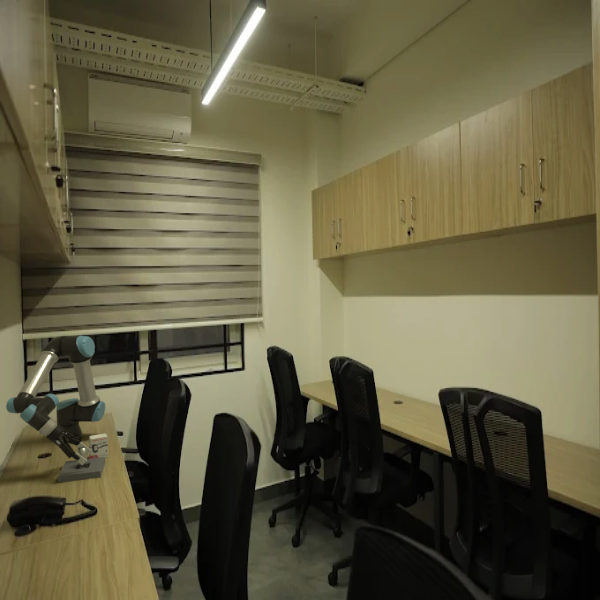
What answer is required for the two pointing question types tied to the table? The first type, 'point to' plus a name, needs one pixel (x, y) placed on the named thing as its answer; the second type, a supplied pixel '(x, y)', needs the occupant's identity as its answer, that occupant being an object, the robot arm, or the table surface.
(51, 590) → the table surface
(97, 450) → the ink box
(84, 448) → the steel pin
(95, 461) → the hole block
